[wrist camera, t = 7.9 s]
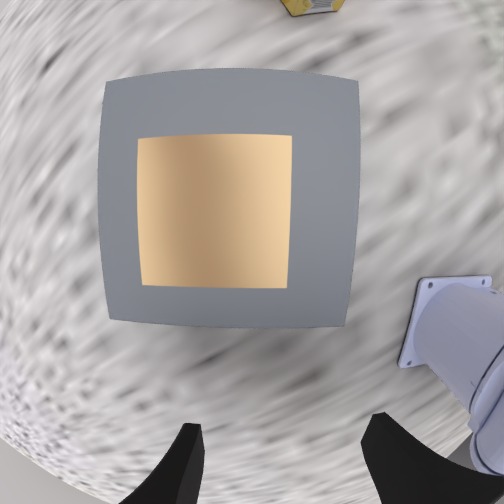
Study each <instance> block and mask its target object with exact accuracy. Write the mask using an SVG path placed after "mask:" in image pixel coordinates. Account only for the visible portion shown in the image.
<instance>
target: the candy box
mask: <svg viewBox="0 0 504 504" xmlns="http://www.w3.org/2000/svg"><path fill="white" fill-rule="evenodd" d="M281 1H282V2H283V3H284V5H285V6H286V7H287V9H288V10H289V12H290V13H291V15H293V16H298V15H304V14H311V13H318V12H325V11H338V10H339V9H340V7H341V6H342V4H343V3H344V1H345V0H281Z"/></svg>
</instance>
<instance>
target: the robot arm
mask: <svg viewBox="0 0 504 504" xmlns="http://www.w3.org/2000/svg"><path fill="white" fill-rule="evenodd" d="M491 282H492V277H491V276H489V275H483V276H461V277H436V278H423V279H421V280H420V282H419V285H418V290H417V295H416V299H415V304H414V308H413V313H412V317H411V321H410V324H409V328H408V332H407V336H406V339H405V343H404V346H403V349H402V353H401V356H400V359H399V362H398V366H399V367H400V368H408V367H413V366H418V365H423V364H427V365H428V366H429V367H430V368H431V369H432V370H433V372H434V373H435V374H436V375H437V376H438V377H439V378H440V379H441V381H442V382H443V383H444V384H445V385H446V386H447V387H448V388H449V390H450V391H451V392H452V393H453V394H454V395H455V396H456V398H457V399H458V400H459V401H460V402H461V403H462V405H463V406H464V407H465V408H466V409H467V411H468V412H469V413H470V414H471V418H470V420H469V422H468V424H467V425H468V426H469V427H470V428H471V430H472V431H473V432H474V434H473V437H472V439H471V443H470V455H471V458H472V461H473V464H474V466H475V467H476V468H477V470H478V471H479V472H478V471H474V470H471V469H468V468H466V467H463V466H461V465H458V464H456V463H454V462H451V461H449V460H448V459H446V458H444V457H442V456H440V455H439V454H437V453H435V452H434V451H432V450H431V449H430V448H428V447H427V446H425V445H424V444H422V443H421V442H420V441H418V440H417V439H416V438H415V437H413V436H412V435H411V434H410V433H409V432H407V431H406V430H405V429H404V428H403V427H401V426H400V425H399V424H398V423H397V422H396V421H395V420H393V419H392V418H391V417H390V416H389V415H388V414H387V413H385V412H383V413H378V414H373V415H372V418H371V420H370V422H369V425H368V427H367V429H366V431H365V434H364V436H363V438H362V440H361V446H362V451H363V455H364V459H365V462H366V464H367V467H368V469H369V472H370V474H371V477H372V479H373V482H374V484H375V486H376V489H377V491H378V494H379V497H380V500H381V503H382V504H494V503H495V502H496V501H498V500H499V499H500V498H501V497H502V496H503V495H504V294H502V293H500V292H498V291H496V290H494V289H492V288H490V287H491ZM429 283H430V286H429V287H428V285H429ZM204 455H205V450H204V443H203V437H202V431H201V424H193V423H184V424H183V426H182V428H181V430H180V432H179V434H178V435H177V437H176V439H175V440H174V442H173V444H172V445H171V447H170V448H169V450H168V451H167V453H166V454H165V456H164V457H163V458H162V460H161V461H160V463H159V464H158V465H157V466H156V468H155V469H154V470H153V471H152V472H151V474H150V475H149V476H148V477H147V478H146V479H145V480H144V481H143V482H142V483H141V485H140V486H138V487H137V488H136V489H135V490H134V491H133V492H132V493H131V494H130V495H129V496H127V497H126V498H125V499H124V500H123V501H121V502H120V503H119V504H197V499H198V495H199V490H200V485H201V480H202V475H203V468H204Z"/></svg>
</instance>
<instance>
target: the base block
mask: <svg viewBox="0 0 504 504" xmlns="http://www.w3.org/2000/svg"><path fill="white" fill-rule="evenodd" d="M200 134H265V135H286V136H292V170H291V208H290V234H289V256H288V275H287V288H215V287H179V286H154V285H142V277H141V266H140V253H139V238H138V215H137V155H138V139H142V138H152V137H164V136H179V135H200ZM359 189H360V105H359V87H358V81H355V80H350V79H345V78H339V77H334V76H327V75H321V74H313V73H305V72H296V71H286V70H273V69H251V68H216V69H194V70H181V71H171V72H162V73H154V74H147V75H140V76H134V77H128V78H123V79H118V80H113V81H108V82H106V86H105V92H104V99H103V107H102V116H101V126H100V138H99V155H98V221H99V238H100V250H101V261H102V270H103V278H104V286H105V293H106V299H107V306H108V311H109V317H110V319H113V320H122V321H132V322H142V323H153V324H165V325H180V326H197V327H220V328H317V327H340V326H344V325H345V319H346V313H347V307H348V301H349V294H350V287H351V280H352V272H353V264H354V255H355V245H356V234H357V222H358V208H359Z"/></svg>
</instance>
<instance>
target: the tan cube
mask: <svg viewBox="0 0 504 504" xmlns="http://www.w3.org/2000/svg"><path fill="white" fill-rule="evenodd" d="M291 170H292V136H286V135H265V134H200V135H179V136H164V137H152V138H142V139H138V155H137V215H138V238H139V253H140V266H141V277H142V285H154V286H179V287H215V288H287V275H288V256H289V234H290V208H291Z"/></svg>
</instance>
